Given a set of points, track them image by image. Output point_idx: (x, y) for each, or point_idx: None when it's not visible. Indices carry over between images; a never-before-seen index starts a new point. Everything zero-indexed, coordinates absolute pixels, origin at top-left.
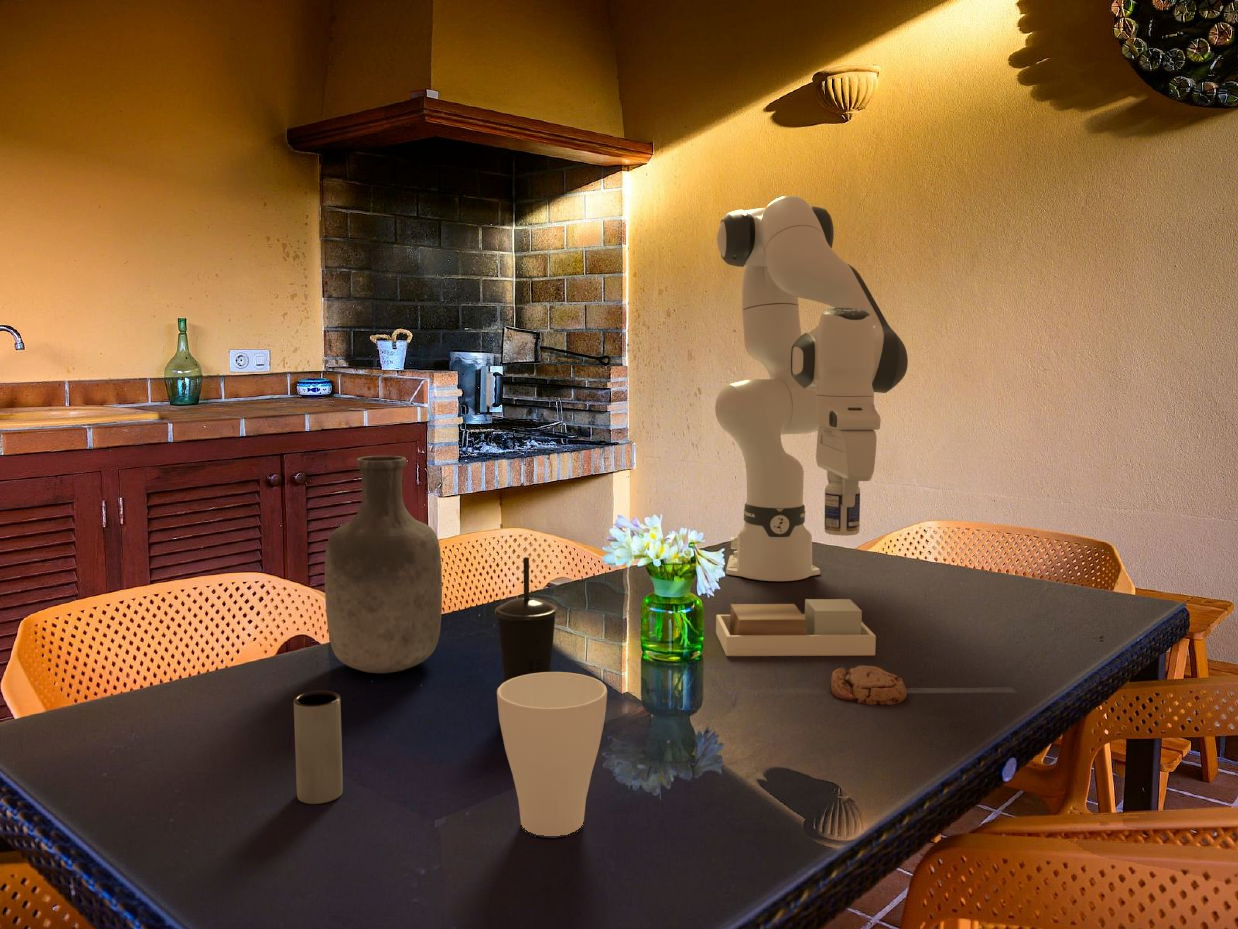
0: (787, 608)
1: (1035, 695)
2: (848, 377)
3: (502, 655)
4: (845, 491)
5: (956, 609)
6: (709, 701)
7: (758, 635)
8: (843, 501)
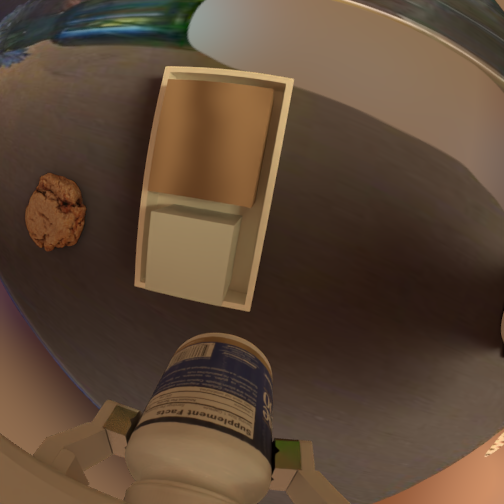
0: (221, 182)
1: (59, 352)
2: None
3: None
4: (72, 431)
5: (328, 442)
6: (67, 52)
7: (159, 111)
8: (101, 408)
